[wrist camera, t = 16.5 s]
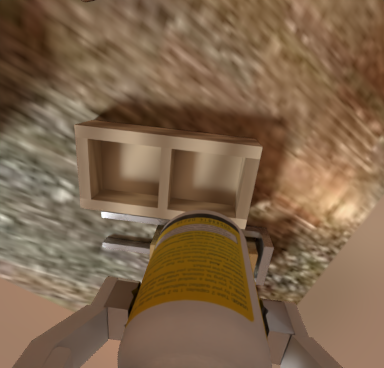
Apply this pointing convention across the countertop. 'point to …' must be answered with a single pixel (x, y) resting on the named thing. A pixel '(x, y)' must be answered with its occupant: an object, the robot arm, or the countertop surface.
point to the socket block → (261, 234)
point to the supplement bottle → (197, 300)
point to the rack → (164, 170)
